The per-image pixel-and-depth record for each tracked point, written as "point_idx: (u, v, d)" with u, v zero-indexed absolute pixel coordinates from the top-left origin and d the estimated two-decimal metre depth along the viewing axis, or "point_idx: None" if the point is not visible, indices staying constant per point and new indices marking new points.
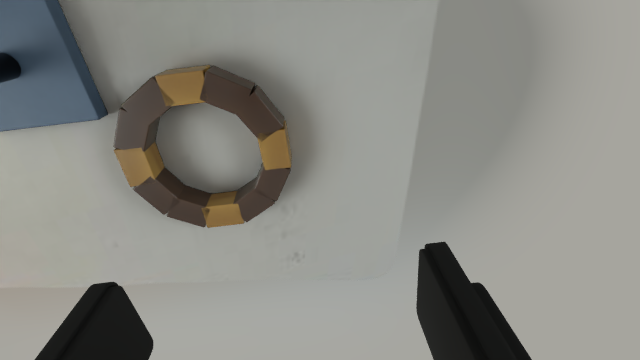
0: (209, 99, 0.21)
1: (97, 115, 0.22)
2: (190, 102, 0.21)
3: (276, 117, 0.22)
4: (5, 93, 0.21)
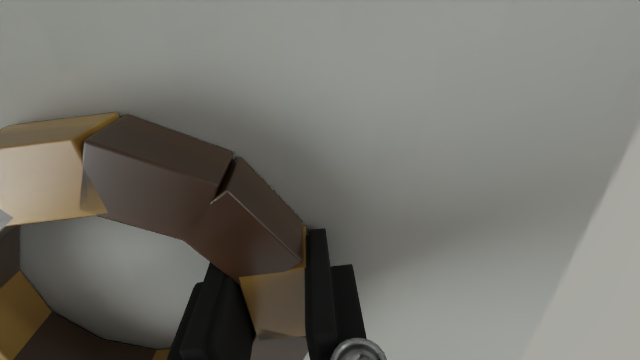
0: (105, 210, 0.08)
1: None
2: (56, 217, 0.08)
3: (285, 241, 0.09)
4: None
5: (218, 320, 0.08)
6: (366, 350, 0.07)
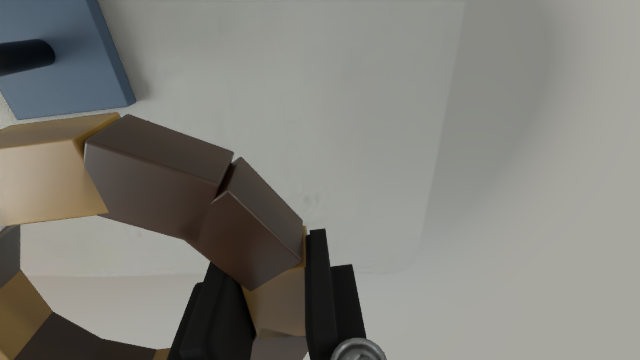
0: (106, 210, 0.08)
1: (126, 102, 0.22)
2: (57, 216, 0.08)
3: (286, 241, 0.09)
4: (40, 79, 0.21)
5: (218, 320, 0.08)
6: (366, 350, 0.07)
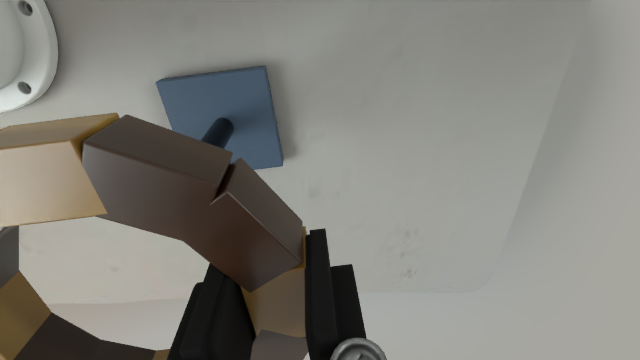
0: (105, 211, 0.08)
1: (281, 163, 0.27)
2: (56, 218, 0.08)
3: (285, 242, 0.09)
4: None
5: (218, 320, 0.08)
6: (366, 350, 0.07)
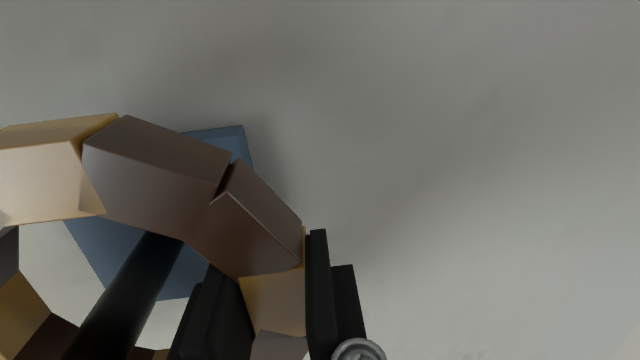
0: (104, 211, 0.08)
1: None
2: (55, 217, 0.08)
3: (285, 242, 0.09)
4: None
5: (218, 320, 0.08)
6: (366, 350, 0.07)
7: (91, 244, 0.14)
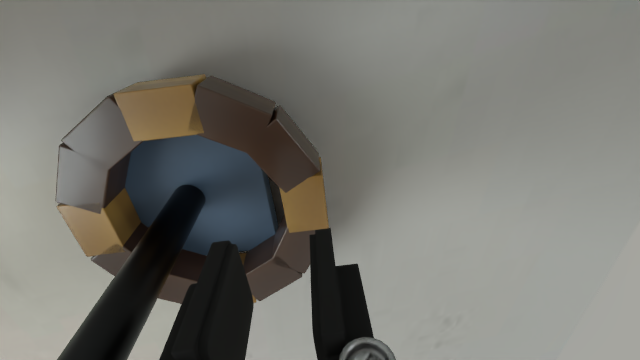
0: (203, 131, 0.13)
1: None
2: (173, 135, 0.13)
3: (310, 157, 0.14)
4: None
5: (211, 321, 0.08)
6: (375, 350, 0.07)
7: None
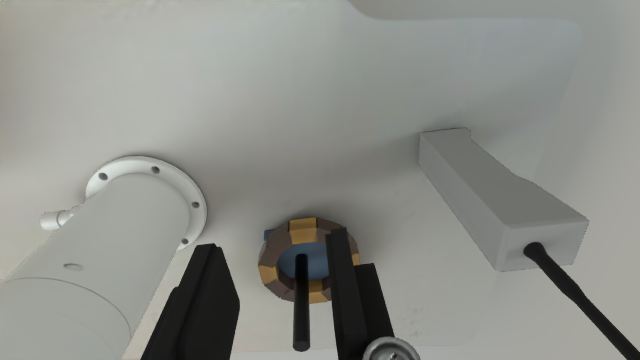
0: (317, 240, 0.36)
1: None
2: (306, 242, 0.36)
3: (354, 247, 0.37)
4: (295, 268, 0.41)
5: (190, 325, 0.08)
6: (400, 350, 0.07)
7: None
